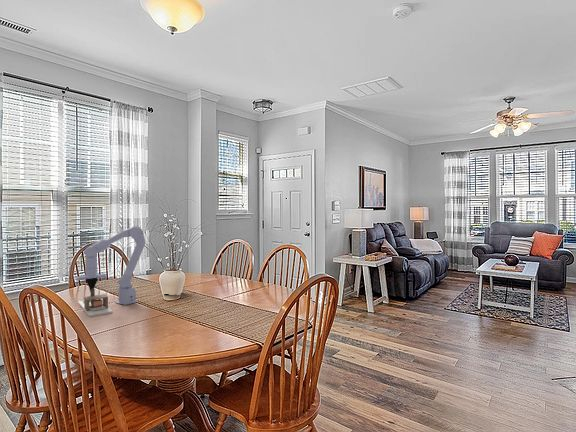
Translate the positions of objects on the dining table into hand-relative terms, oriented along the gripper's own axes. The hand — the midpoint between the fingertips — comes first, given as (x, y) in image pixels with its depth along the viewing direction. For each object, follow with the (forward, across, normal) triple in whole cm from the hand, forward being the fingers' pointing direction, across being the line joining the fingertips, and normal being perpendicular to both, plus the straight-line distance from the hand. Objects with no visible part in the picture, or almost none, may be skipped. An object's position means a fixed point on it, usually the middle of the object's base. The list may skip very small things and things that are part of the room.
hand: (91, 291), depth 202 cm
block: (+6, 0, +15) cm, 16 cm away
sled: (+6, 0, +9) cm, 11 cm away
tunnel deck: (+7, 0, +7) cm, 10 cm away
